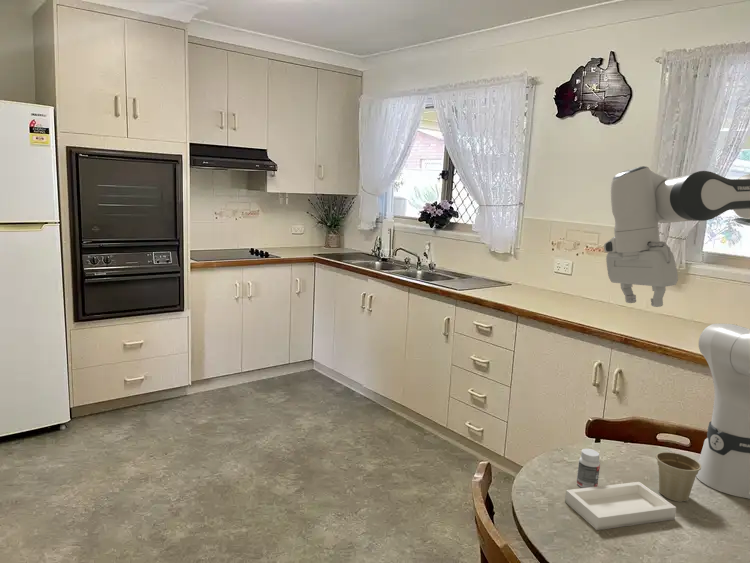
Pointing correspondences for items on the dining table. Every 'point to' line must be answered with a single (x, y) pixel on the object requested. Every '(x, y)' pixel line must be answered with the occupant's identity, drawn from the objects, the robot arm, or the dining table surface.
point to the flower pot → (676, 475)
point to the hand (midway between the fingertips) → (643, 304)
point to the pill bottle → (588, 468)
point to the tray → (619, 505)
